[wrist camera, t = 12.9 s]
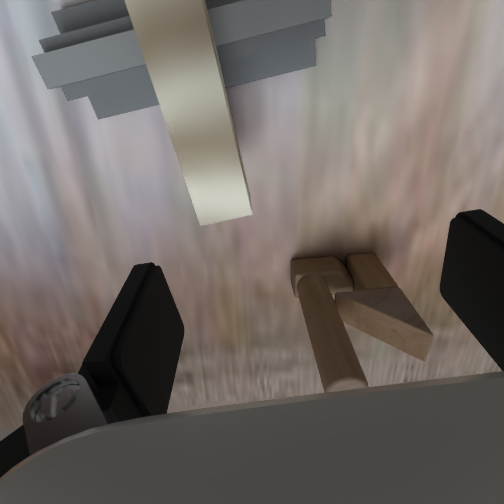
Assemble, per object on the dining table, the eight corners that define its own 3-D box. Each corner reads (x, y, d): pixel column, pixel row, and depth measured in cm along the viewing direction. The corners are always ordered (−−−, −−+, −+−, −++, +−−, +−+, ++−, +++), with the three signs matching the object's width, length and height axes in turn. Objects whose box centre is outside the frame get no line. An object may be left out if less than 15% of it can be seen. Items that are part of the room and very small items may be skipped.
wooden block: (371, 274, 42) (449, 398, 27) (290, 281, 42) (322, 409, 27) (375, 251, 40) (461, 370, 25) (290, 257, 40) (324, 381, 25)
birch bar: (58, -258, 15) (6, -350, 12) (139, -285, 15) (110, -388, 11) (204, 204, 27) (200, 225, 24) (250, 194, 27) (252, 214, 24)
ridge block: (300, -50, 25) (324, -89, 18) (311, 65, 29) (334, 67, 23) (62, 15, 27) (4, 1, 20) (105, 116, 31) (69, 133, 24)
